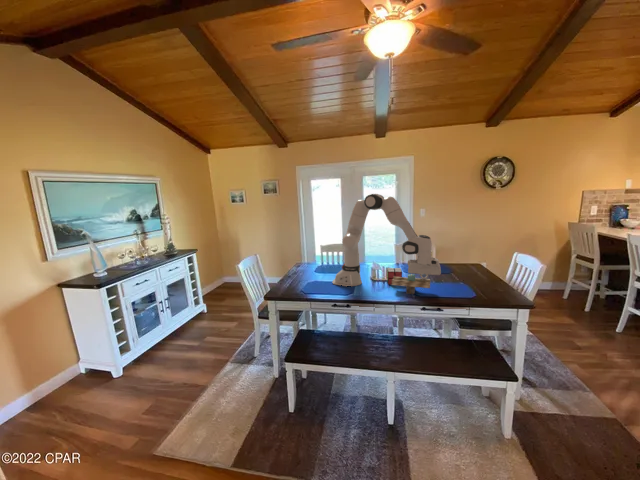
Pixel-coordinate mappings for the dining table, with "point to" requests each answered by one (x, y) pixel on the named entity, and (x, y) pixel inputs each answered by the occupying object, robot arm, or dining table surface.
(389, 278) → the puzzle cube
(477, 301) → the dining table surface
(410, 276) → the rider
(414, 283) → the beam
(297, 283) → the dining table surface
